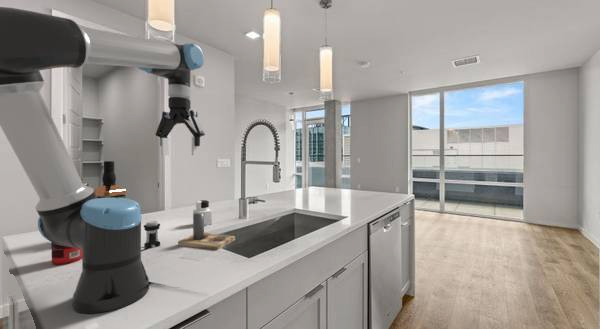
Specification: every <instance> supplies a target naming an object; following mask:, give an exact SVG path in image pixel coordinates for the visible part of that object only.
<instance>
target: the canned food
mask: <svg viewBox="0 0 600 329" xmlns="http://www.w3.org/2000/svg"><path fill="white" fill-rule="evenodd" d="M50 243H51V244H50V245H51V247H50V248H51V263H52V265H55V266H64V265H70V264H74V263H77V262H79V261H81V260H82V249H77V248H73V247H68V246H61V245H57V244H55V243H53V242H50Z"/></svg>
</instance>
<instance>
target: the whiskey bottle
mask: <svg viewBox="0 0 600 329" xmlns="http://www.w3.org/2000/svg"><path fill="white" fill-rule="evenodd" d="M116 180H117V178H116V173H115V161H113V160H105V161H103V174H102V185H101V186H98V187H97V188H95V189H93V190H94V192H95V194H96V196H97V198H125V199H127V198H126V194H127V189H126V188H124V187H123V186H120V185H118V184H116V182H117V181H116Z"/></svg>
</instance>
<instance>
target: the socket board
mask: <svg viewBox="0 0 600 329" xmlns="http://www.w3.org/2000/svg"><path fill="white" fill-rule="evenodd" d="M235 240H236V236H234V235H227V234H216V233H209V232H204V239H203V240H201V241H199V240H193V234H192V235H190V236H188V237H185V238H183V239H179V240H178V241H177V245H178V246H182V247H183V246H184V247H191V248H199V249H206V250H213V251H214V250H215V251H218V250H220V249H222V248H224V247H225V246H227V245H229V244H231V243H232V242H235Z"/></svg>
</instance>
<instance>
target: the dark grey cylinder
mask: <svg viewBox="0 0 600 329" xmlns="http://www.w3.org/2000/svg"><path fill="white" fill-rule="evenodd" d="M192 216H193V217H192V230H193V231H192V235H193V240H199V241H201V240H203V239H204V233H205V226H204V213H202V212H199V213H194V214H193V213H192Z"/></svg>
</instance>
